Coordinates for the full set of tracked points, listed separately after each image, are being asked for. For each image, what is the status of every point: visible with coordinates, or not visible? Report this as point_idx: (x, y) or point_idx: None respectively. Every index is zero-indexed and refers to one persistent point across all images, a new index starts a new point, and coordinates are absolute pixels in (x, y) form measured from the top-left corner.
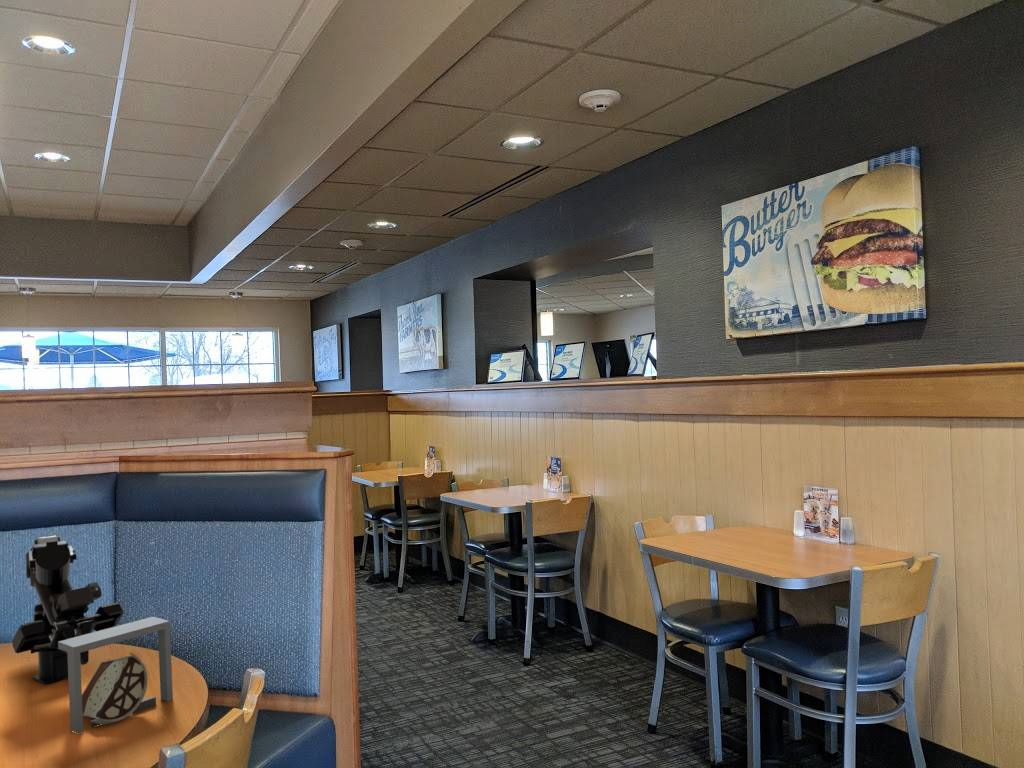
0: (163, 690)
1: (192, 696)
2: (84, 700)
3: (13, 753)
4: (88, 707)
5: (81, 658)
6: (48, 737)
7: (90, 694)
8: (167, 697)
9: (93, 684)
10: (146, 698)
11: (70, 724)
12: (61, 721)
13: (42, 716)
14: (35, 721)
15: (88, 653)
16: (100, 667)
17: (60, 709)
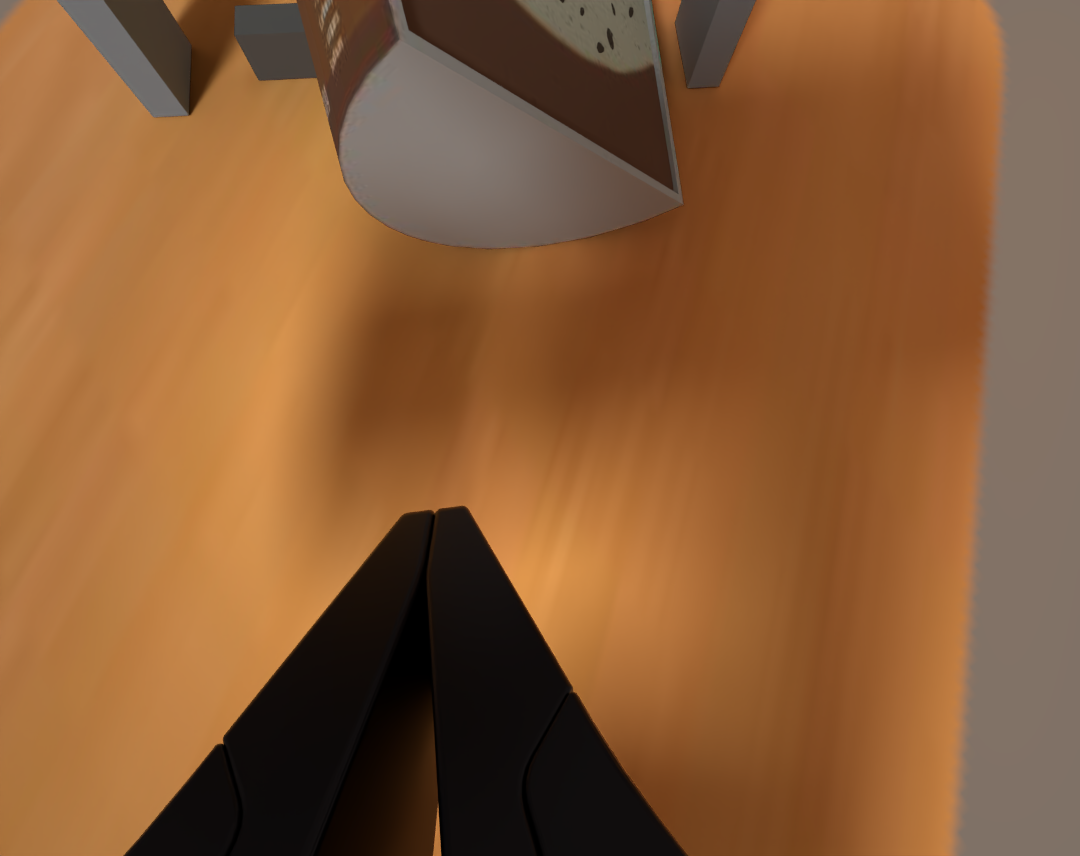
0: (150, 24)
1: (57, 13)
2: (628, 110)
3: (983, 52)
4: (631, 33)
5: (485, 539)
6: (821, 102)
7: (598, 59)
8: (175, 20)
9: (559, 59)
10: (282, 31)
11: (732, 49)
12: (719, 262)
13: (787, 447)
14: (836, 394)
15: (351, 578)
16: (448, 30)
17: (671, 478)
